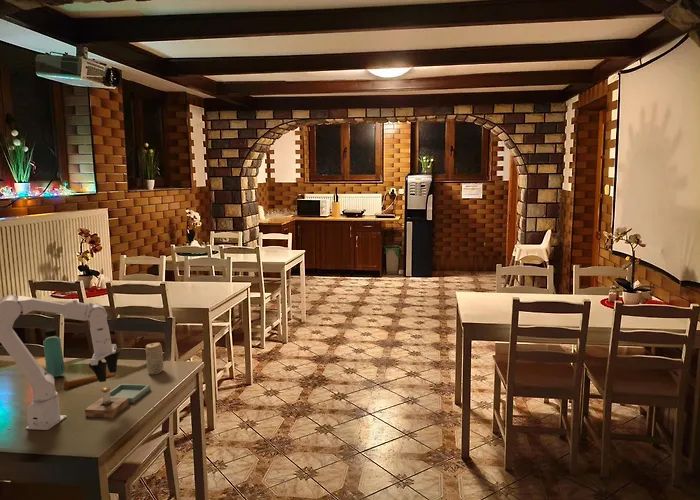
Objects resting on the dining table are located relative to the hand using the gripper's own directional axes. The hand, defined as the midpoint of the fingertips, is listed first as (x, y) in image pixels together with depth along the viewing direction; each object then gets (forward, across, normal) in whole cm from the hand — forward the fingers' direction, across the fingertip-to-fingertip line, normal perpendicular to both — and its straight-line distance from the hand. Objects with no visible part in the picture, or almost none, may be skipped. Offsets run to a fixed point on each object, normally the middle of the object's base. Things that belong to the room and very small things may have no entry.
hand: (108, 376), depth 186 cm
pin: (+11, -2, +1) cm, 12 cm away
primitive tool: (+12, +25, +21) cm, 35 cm away
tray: (+12, +10, 0) cm, 15 cm away
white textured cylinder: (+13, +33, -2) cm, 35 cm away
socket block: (+11, -2, +1) cm, 12 cm away
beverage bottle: (+11, +29, +38) cm, 49 cm away
